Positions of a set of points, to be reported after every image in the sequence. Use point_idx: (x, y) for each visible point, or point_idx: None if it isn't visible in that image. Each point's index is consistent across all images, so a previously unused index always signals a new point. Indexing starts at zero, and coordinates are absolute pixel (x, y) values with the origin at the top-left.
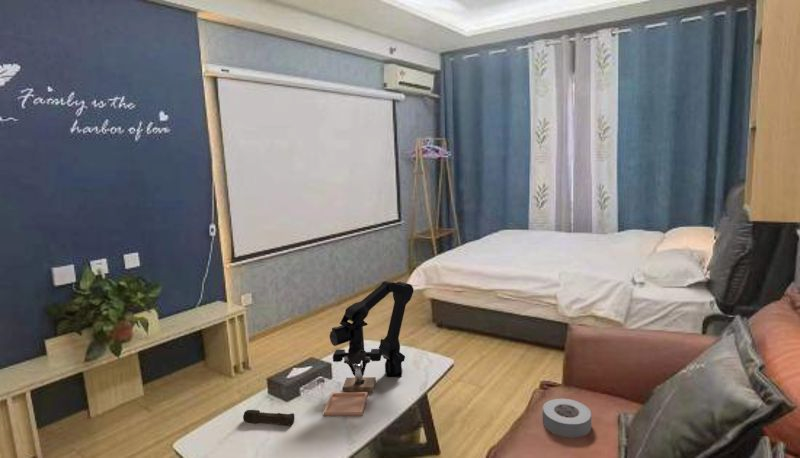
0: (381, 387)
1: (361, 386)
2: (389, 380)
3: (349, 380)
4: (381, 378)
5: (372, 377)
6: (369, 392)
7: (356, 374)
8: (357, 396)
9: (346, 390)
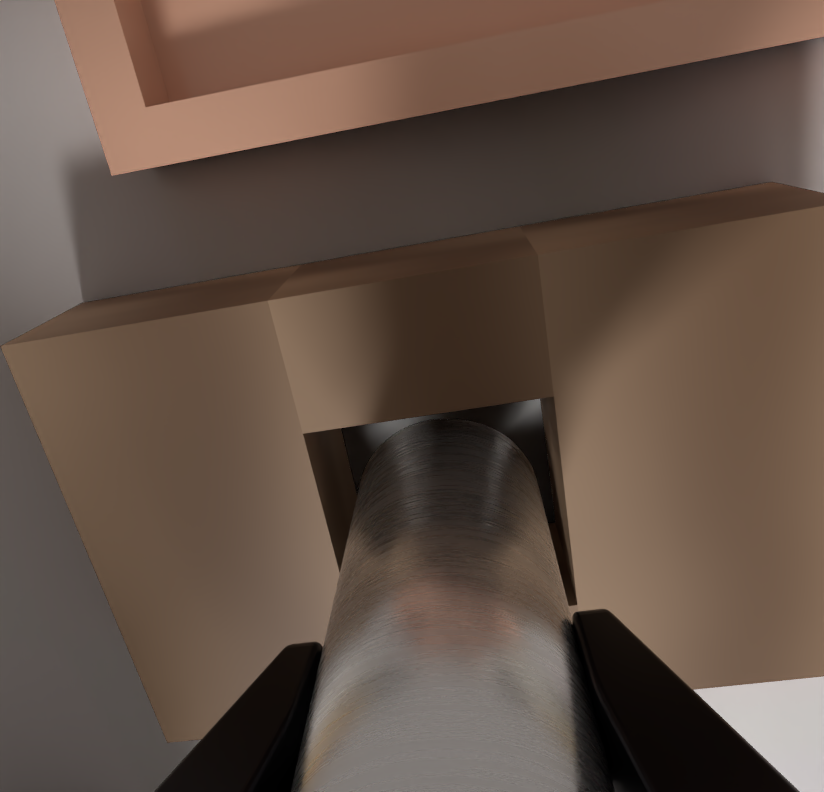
0: (35, 523)
1: (313, 331)
2: (20, 736)
3: (723, 569)
4: None
5: None
6: (158, 292)
7: (493, 618)
8: (346, 25)
9: (706, 206)
